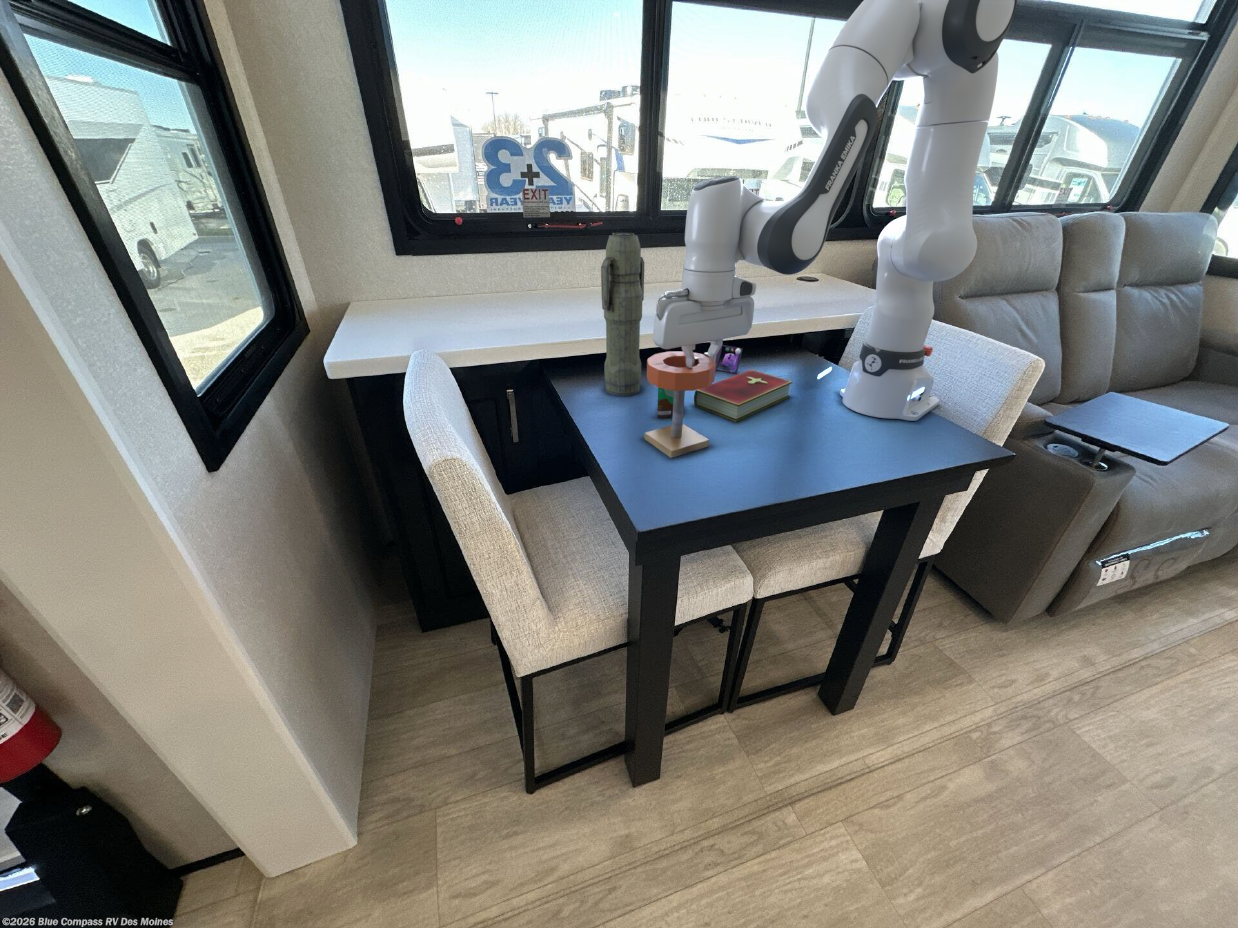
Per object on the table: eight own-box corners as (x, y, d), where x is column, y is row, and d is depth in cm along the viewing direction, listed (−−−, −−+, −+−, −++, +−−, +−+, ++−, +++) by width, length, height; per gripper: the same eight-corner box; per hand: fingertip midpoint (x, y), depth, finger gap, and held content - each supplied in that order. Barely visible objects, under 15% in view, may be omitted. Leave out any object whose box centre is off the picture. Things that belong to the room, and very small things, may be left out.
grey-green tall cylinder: (651, 386, 122) (656, 233, 104) (622, 400, 114) (622, 237, 96) (623, 378, 127) (624, 230, 109) (593, 392, 119) (589, 234, 101)
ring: (686, 363, 96) (687, 347, 94) (727, 382, 87) (729, 365, 85) (634, 374, 90) (635, 358, 89) (672, 395, 82) (673, 377, 80)
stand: (680, 429, 101) (684, 371, 94) (708, 446, 94) (715, 385, 88) (644, 439, 97) (646, 379, 90) (671, 458, 90) (674, 395, 84)
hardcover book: (693, 405, 111) (694, 388, 109) (747, 383, 123) (749, 367, 121) (736, 422, 104) (738, 403, 101) (789, 397, 116) (792, 380, 113)
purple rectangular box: (710, 342, 132) (741, 348, 128) (716, 344, 136) (747, 349, 132) (704, 367, 133) (735, 373, 129) (711, 368, 138) (741, 374, 134)
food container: (685, 423, 103) (688, 378, 98) (656, 420, 104) (658, 376, 99) (689, 401, 114) (692, 359, 109) (663, 399, 115) (665, 357, 110)
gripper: (669, 295, 76) (664, 379, 83) (763, 284, 85) (752, 360, 92) (646, 289, 81) (644, 369, 87) (738, 278, 90) (730, 352, 97)
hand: (700, 364), depth 90 cm, fingers closed on ring, 3 cm apart
